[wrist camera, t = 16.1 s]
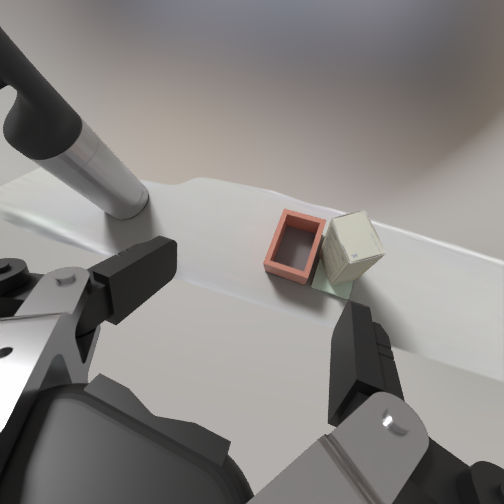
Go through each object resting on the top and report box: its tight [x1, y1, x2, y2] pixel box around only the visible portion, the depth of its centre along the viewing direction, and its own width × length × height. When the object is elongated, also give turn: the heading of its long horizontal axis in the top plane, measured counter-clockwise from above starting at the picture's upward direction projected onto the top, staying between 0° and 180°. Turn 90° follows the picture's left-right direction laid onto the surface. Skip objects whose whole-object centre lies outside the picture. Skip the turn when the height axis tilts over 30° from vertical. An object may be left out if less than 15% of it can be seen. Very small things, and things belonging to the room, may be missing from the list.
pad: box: [311, 258, 354, 300], centre depth 38 cm, size 6×10×1 cm, turn 159°
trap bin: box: [263, 209, 326, 285], centre depth 38 cm, size 7×10×5 cm
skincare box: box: [319, 210, 386, 286], centre depth 32 cm, size 6×4×12 cm
